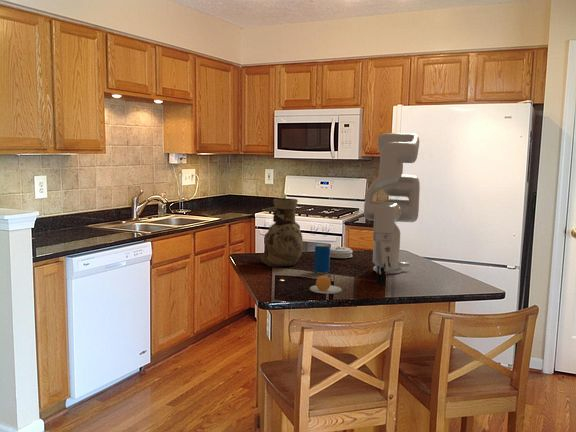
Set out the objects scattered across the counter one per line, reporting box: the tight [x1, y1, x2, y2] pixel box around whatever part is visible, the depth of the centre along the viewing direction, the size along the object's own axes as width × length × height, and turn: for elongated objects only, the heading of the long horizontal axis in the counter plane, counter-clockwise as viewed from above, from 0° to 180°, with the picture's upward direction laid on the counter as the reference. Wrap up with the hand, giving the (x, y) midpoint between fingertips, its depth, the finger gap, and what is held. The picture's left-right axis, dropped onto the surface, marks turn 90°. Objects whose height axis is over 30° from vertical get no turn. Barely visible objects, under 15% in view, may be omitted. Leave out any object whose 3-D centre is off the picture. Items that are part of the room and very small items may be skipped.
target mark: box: [309, 284, 343, 295], centre depth 193 cm, size 12×12×1 cm
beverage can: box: [313, 243, 331, 275], centre depth 220 cm, size 6×6×12 cm
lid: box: [329, 246, 354, 259], centre depth 255 cm, size 13×13×5 cm
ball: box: [315, 275, 332, 291], centre depth 191 cm, size 6×6×6 cm
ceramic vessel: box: [260, 198, 304, 268], centre depth 233 cm, size 19×21×30 cm
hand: (380, 283), depth 198 cm, fingers closed
